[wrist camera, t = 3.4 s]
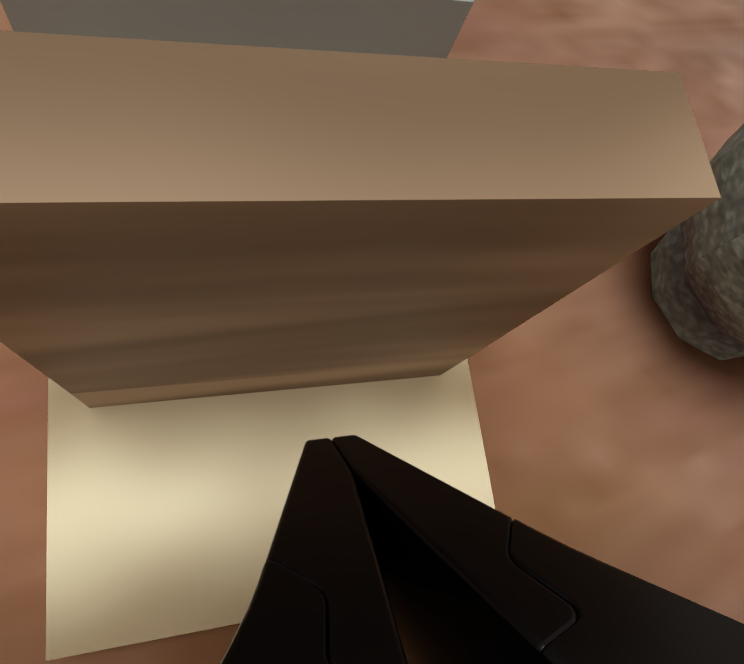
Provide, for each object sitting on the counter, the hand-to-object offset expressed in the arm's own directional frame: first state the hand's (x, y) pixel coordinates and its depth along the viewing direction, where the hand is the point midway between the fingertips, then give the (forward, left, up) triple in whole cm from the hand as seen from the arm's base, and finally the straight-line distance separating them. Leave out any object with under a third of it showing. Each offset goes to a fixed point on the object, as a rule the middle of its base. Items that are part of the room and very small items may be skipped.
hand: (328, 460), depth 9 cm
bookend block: (+5, -2, -7) cm, 9 cm away
